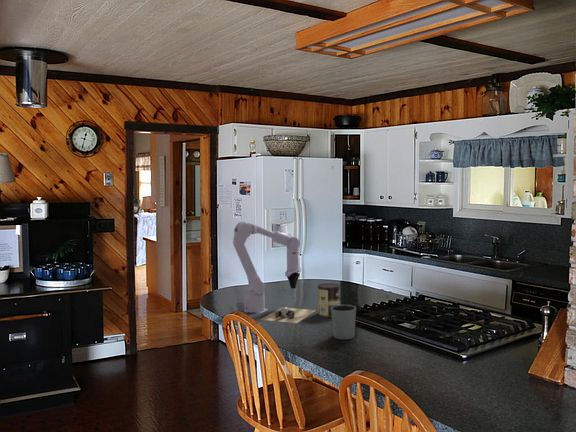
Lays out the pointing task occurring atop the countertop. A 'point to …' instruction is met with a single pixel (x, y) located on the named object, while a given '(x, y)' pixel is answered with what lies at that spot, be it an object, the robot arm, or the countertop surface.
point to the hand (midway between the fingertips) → (293, 288)
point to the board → (299, 316)
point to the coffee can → (328, 298)
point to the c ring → (290, 314)
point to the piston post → (284, 312)
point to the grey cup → (343, 321)
